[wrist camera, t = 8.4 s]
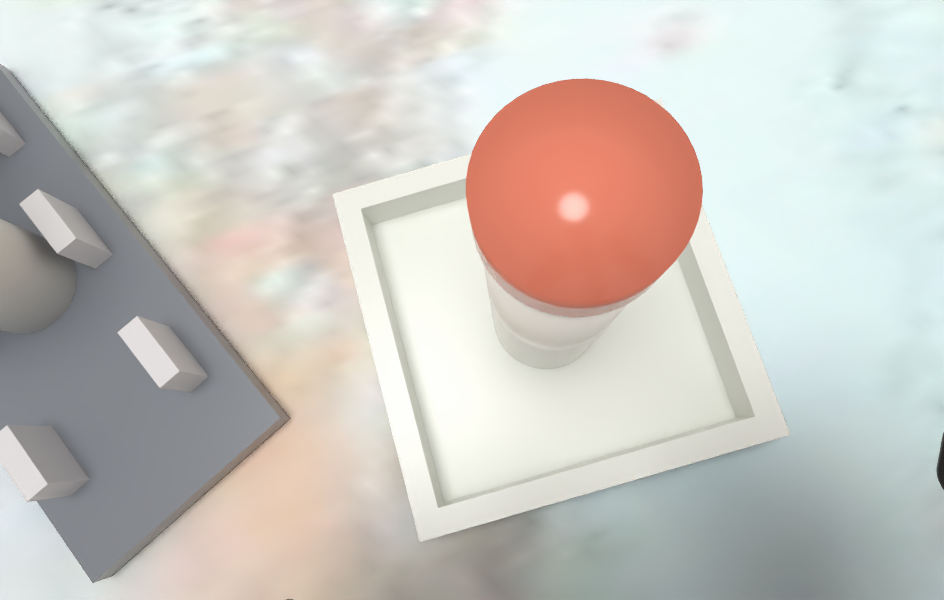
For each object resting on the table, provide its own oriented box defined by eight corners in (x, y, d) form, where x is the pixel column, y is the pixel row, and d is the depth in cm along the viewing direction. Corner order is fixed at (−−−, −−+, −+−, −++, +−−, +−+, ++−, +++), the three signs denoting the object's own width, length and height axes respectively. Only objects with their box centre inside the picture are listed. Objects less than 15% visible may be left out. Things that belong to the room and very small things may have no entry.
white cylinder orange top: (590, 382, 21) (684, 322, 10) (480, 359, 22) (443, 274, 10) (609, 275, 22) (718, 99, 10) (502, 254, 23) (491, 62, 11)
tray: (759, 434, 22) (790, 434, 19) (430, 530, 22) (419, 542, 19) (645, 132, 24) (660, 98, 22) (350, 218, 24) (332, 193, 22)
